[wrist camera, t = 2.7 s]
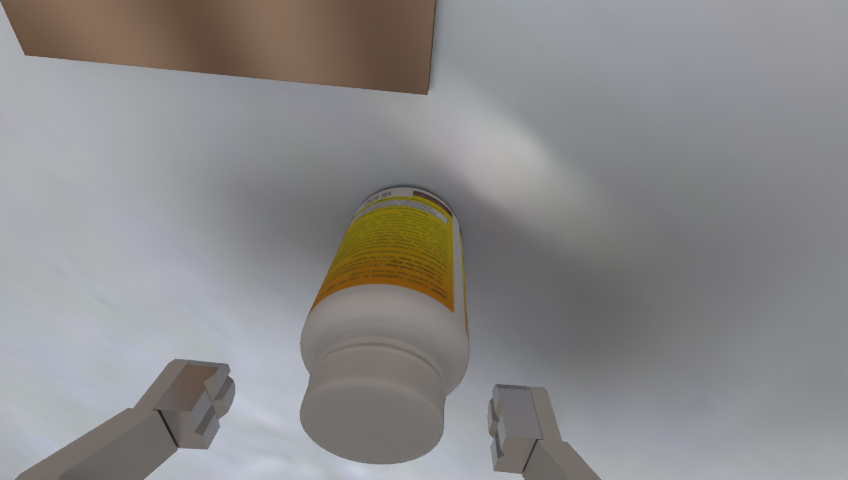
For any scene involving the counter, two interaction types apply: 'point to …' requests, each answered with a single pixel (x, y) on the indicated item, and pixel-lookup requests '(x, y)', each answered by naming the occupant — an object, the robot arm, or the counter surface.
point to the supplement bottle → (387, 331)
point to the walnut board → (241, 37)
